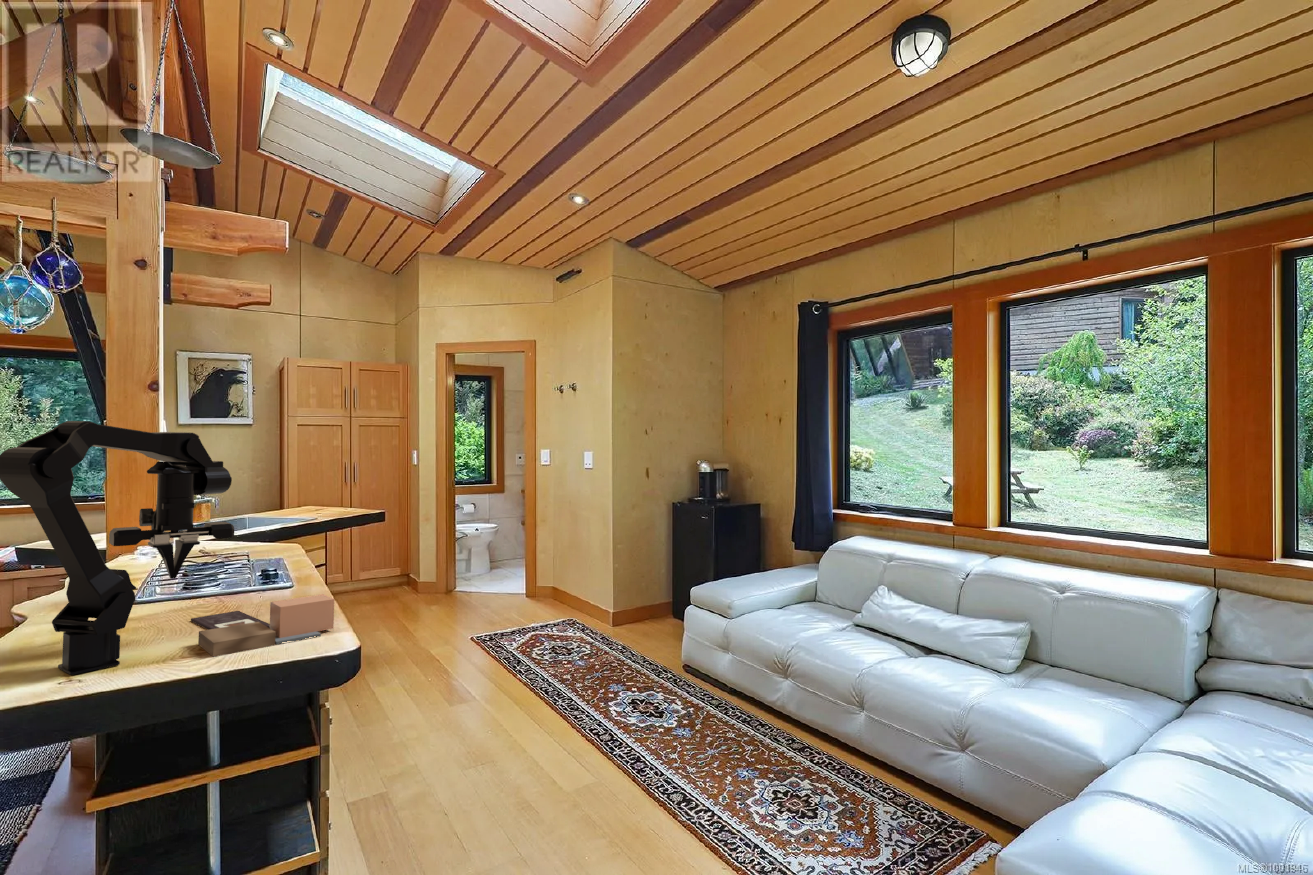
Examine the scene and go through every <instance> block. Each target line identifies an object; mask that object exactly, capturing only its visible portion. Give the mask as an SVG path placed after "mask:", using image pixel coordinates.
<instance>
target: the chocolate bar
mask: <svg viewBox="0 0 1313 875" xmlns="http://www.w3.org/2000/svg"><path fill="white" fill-rule="evenodd" d="M190 622H191V623H194V624H195V625H198V626H200V627H202V628H203V629H205V630H210V629H216V628H222V627H228V626H234V625H241V624H247V623H253V622H260V623H262V624H263V625H265V626H267V627H268V628H270V622H266V621H264V620H261V619H259V618H256V617H254V616H252V615H250V614H247V613H245V612H243V611H240V610H234V611H227V612H222V613H217V614H216V613H215V614H210V615H204V616H197V617H192V618H190Z"/></svg>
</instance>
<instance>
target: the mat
mask: <svg viewBox="0 0 1313 875" xmlns="http://www.w3.org/2000/svg"><path fill="white" fill-rule="evenodd" d="M314 636H320V637H321V636H322V632H320V631H316V632H311V633H305V634H300V635H294V636H289V637H283V638H279V637H277V636H275V645H276V644H278V645H280V644H279V643H282V642H287V641H294V642H297V641H296V640H299V641H302V640H301V639H305V638H309V637H314ZM305 640H306V639H305Z"/></svg>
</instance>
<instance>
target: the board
mask: <svg viewBox="0 0 1313 875" xmlns="http://www.w3.org/2000/svg"><path fill="white" fill-rule="evenodd" d="M275 636H276V632H275V631H273V630H272V629H270V628H268V627H267V626H265V625H263V624H262V623H260V622H253V623H247V624H241V625H234V626H228V627H222V628H216V629H210V630H208V629H205V630H198V643H197V644H198V646H200V648H201V649H203V650H204V651H205V652H206V653H208V654H209V655H210V656H211V657H219V656H220V657H221V656H225V655H230V654H235V653H240V652H247V651H250V650H256V649H261V648H262V649H263V648H267V647H266V646H268V647H272V646H271V645H273V646H276V644H275Z"/></svg>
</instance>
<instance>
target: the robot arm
mask: <svg viewBox="0 0 1313 875" xmlns="http://www.w3.org/2000/svg"><path fill="white" fill-rule="evenodd" d="M92 447H93V448H94V447H95V448H103V449H112V450H119V451H125V452H126V451H127V452H133V453H134V452H135V453H139V454H143V455H144V456H146V457H147V458H151V459H153V460H156V463H155V464H153V466H151V467H150V468H148V469H147V470H146V474H149V475H157V486H156V487H157V488H156V490H157V491H156V493H157V494H156V505H155V507H156V508H155V509H154V508H151V507H149V508H147V507H146V508H141V509H139V516H138V517H139V519H138V520H139V521H138V522H139V527H138V526H129V527H127V526H125V527H113V528H112V529H110V531H109V533H108V536H109V537H108V543H109V544H110V545H111V546H113V547H124V546H125V547H126V546H136V545H138V544H140V543H141V541H148V542H147V546H149V547H151V548H153V549H156V550H157V551H158V553H159V554H160V557H161V558H162V561H163V563H164V567H165V570H166V572H167V574H168V577H169V579H170V580H171V579H176V578H177V576H178V575H179V573H180V570H181V568H182V567H183V564H184V562H185V560H186V558H187V557H188V555H189V554H190V552H191V551H192V549H193V548H194V547H195V546H197V545H200V544H201V542H200V541H199V538H200V537H205V536H208V537H209V536H211V537H213V538H215V539H216V540H219V539H232V538H235V526H234V524H232V523H231V522H227V521H214V522H212V521H211V522H204V525H203V526H194V509H195V496H203V495H219V494H224V493H226V492H227V491H228V490H229V489H230V488H231V485H232V479H233V478H232V476H231V473H230V471H229V470H228V469H227V468H226V467H224V461H222V460H221V461H220V460H212V458H211V456H210V454H209V453H208V452H207V450H206V448H205V446H204V444H203V443H202V441H201V439H200V435H198V434H197V433H194V432H187V431H186V432H183V431H182V432H181V431H179V432H177V431H176V432H173V431H159V432H157V431H155V432H154V431H152V432H150V431H143V430H136V429H131V428H124V427H119V426H113V425H106V424H99V423H95V422H93V421H89V420H87V421H84V420H67V421H64V422H62V423H60V424H58V425H57V426H55V427H54V428H52V429H51V430H48V431H46V432H44V433H42V434H40V435H37V436H35V437H32V438H30V439H28V440H25V441H24V442H22V443H20V444H19V445H17V446H16V447H10V448H7V449H6V450H4V451H3V452H1V453H0V481H1V483H2V484H3V485H4V486H5V488H7V490H8V491H9V492H11V493H12V494H13V495H15V496H16V497H18V499H20V500H22V501H23V502H25V503H26V504H27V505H28V506H30V508H31V510H32V511H33V513H34V515H35V517H36V520H38V523H39V524H40V527H41V528H42V530H43V532H44V534H45V535H46V538H47V539H48V541H49V543H50V545H51V547H52V548H53V550H54V552H55V554H56V557H57V558H58V560H59V561H60V564H61V566H62V567H63V568H64V571H65V572H66V573H65V574H66V575H67V576H68V579H69V581H68V585H67V588H66V593H65V594H66V599H67V601H68V603H66V604H65V606H64V607H63V608H62V609H61V610H60V611H59V613H58V614H57V615H56V616H55V617H54V618H53V619H52V621H51V624H52V627H53V629H54V631H55V632H56V633H61V632H63V634H62V635H63V636H62V653H61V654H62V657H61V658H62V659H61V660H62V661H61V663H60V664H58V665H57V668H58V669H59V670H61V671H63V673H67V674H68V675H69V676H74V675H79V674H83V673H87V672H92V671H97V670H102V669H106V668H111V667H115V666H116V667H117V666H119V665H120V664H121V662H120V661H119V659H120V657H121V656H120V652H121V635H120V634H118V633H117V632H118V631H119V630H122V629H125V627H126V624H127V623H128V620H129V617H130V614H131V611H132V608H133V606H134V603H135V602H136V594H135V591H134V590H137V587H136V586H135V585H134V584H133V583H132V581H131V577H130V574H129V573H128V572H129V571H127V570H126V569H118V568H117V569H115V568H109V567H108V566H107V565H106V562H105V561H104V559H103V556H102V554H101V553H100V550H99V549H98V546H97V545H96V543H95V541H94V539H93V537H92V535H91V533H90V531H89V529H88V527H87V525H86V523H85V521H84V519H83V517H82V515H81V513H80V511H79V508H78V507H77V505H76V502H75V501H74V499H73V497H72V494H71V493H72V489H73V485H74V481H75V480H74V479H75V477H74V476H75V475H74V473H73V468H74V467H75V466H77V465H78V464H80V463H81V462H83V460H84V458H85V457H86V455H87V453H88V451H89V450H90V448H92ZM140 527H150V529H144V530H142V528H140ZM175 538H178V539H175ZM171 539H175V541H174V544H173V543H172V542H170V541H171ZM174 546H175V547H174ZM174 548H175V549H174ZM174 550H175V551H174ZM89 619H91V620H89ZM92 619H94V620H92Z"/></svg>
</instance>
